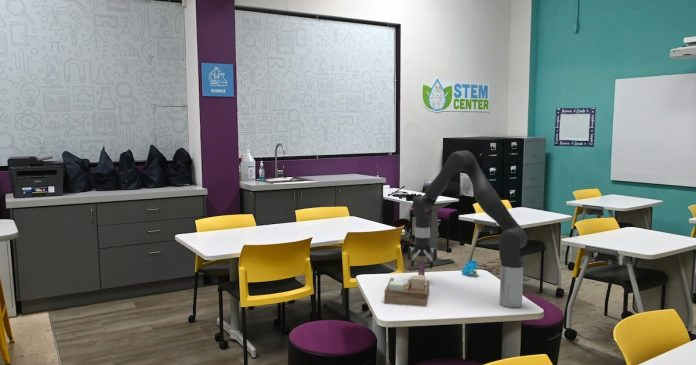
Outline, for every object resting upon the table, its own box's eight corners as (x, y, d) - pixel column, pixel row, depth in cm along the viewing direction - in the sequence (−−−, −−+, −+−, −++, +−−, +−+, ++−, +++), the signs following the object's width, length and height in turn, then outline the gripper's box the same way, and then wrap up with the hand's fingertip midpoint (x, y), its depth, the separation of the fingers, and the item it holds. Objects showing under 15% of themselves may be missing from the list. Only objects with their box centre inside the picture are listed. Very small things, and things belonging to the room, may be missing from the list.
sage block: (390, 291, 241) (391, 280, 241) (404, 292, 240) (404, 281, 239) (389, 295, 235) (389, 284, 235) (402, 296, 234) (403, 285, 233)
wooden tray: (390, 289, 256) (390, 277, 255) (429, 291, 252) (429, 280, 252) (384, 303, 234) (384, 290, 234) (426, 306, 231) (426, 293, 230)
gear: (457, 269, 289) (471, 256, 289) (464, 276, 290) (477, 263, 290) (466, 277, 278) (480, 264, 278) (473, 284, 280) (487, 271, 280)
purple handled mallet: (415, 278, 272) (415, 260, 271) (427, 279, 270) (428, 261, 270) (410, 293, 245) (411, 274, 245) (424, 294, 244) (424, 275, 243)
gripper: (407, 236, 266) (406, 269, 267) (436, 237, 263) (436, 270, 264) (408, 234, 273) (408, 265, 274) (437, 235, 270) (436, 267, 271)
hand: (422, 268), depth 269 cm, fingers open, 8 cm apart
